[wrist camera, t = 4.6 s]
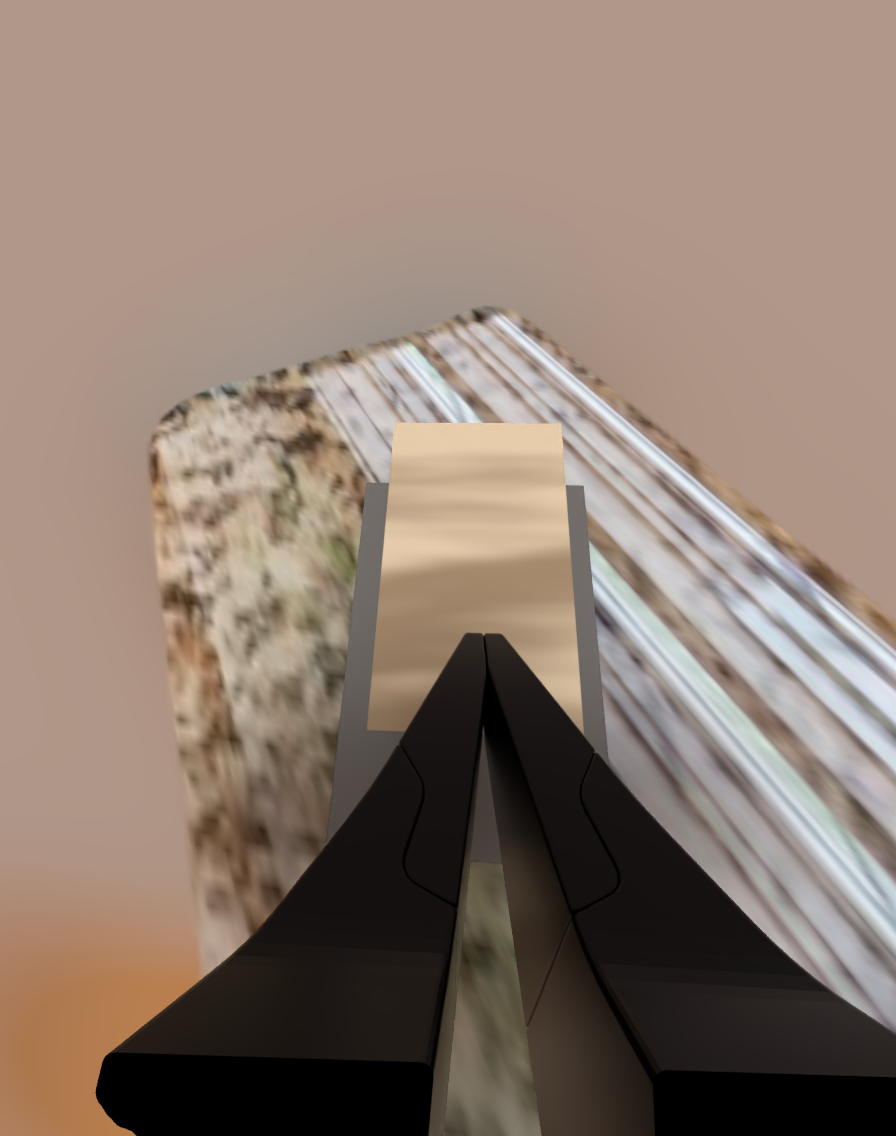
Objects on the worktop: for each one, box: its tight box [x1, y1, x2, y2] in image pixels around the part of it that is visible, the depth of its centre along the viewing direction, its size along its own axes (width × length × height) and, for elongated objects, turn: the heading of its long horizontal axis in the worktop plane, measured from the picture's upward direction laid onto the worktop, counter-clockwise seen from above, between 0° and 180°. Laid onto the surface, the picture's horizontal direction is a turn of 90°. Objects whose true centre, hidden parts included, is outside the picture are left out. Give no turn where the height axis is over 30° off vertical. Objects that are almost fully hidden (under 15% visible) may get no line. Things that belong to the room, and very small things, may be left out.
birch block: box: [367, 423, 584, 735], centre depth 15 cm, size 4×7×12 cm
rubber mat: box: [326, 483, 609, 863], centre depth 16 cm, size 16×11×1 cm
